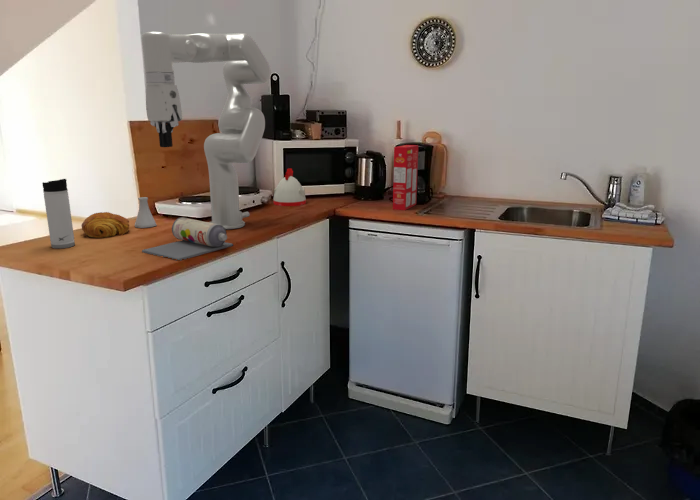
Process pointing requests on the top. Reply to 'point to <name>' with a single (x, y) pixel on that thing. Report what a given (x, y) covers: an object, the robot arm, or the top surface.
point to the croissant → (105, 225)
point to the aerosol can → (199, 232)
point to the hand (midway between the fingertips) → (166, 146)
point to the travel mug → (58, 214)
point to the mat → (183, 249)
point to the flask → (144, 215)
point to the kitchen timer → (289, 191)
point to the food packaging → (405, 177)
